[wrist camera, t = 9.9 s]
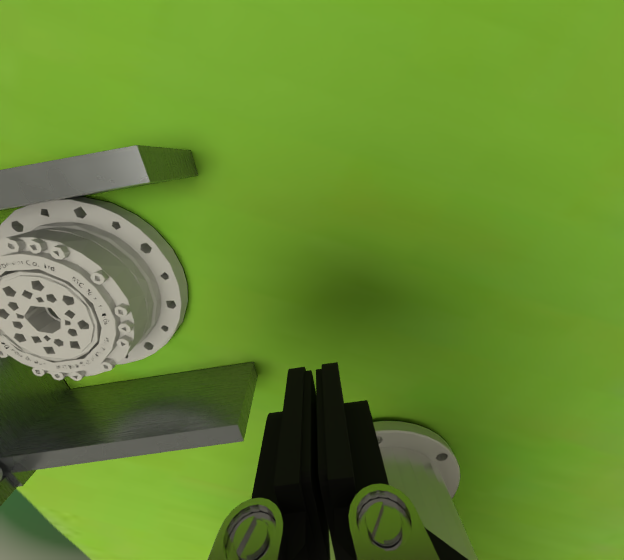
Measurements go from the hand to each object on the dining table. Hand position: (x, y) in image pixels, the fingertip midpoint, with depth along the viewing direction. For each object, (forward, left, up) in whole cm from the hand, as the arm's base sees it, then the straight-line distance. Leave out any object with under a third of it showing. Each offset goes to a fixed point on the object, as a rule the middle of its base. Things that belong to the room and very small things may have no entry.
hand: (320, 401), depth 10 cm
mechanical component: (+3, +12, -9) cm, 15 cm away
